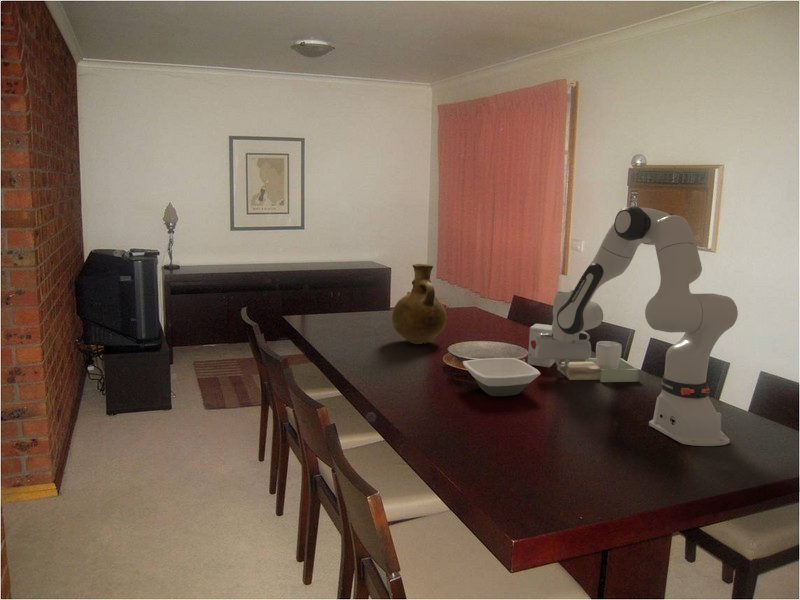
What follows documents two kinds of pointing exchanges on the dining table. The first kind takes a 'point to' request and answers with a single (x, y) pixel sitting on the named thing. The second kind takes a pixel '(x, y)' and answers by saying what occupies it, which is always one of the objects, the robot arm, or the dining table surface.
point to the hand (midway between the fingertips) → (561, 370)
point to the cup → (608, 354)
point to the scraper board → (582, 371)
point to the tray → (618, 372)
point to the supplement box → (534, 332)
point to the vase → (420, 309)
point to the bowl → (501, 375)
